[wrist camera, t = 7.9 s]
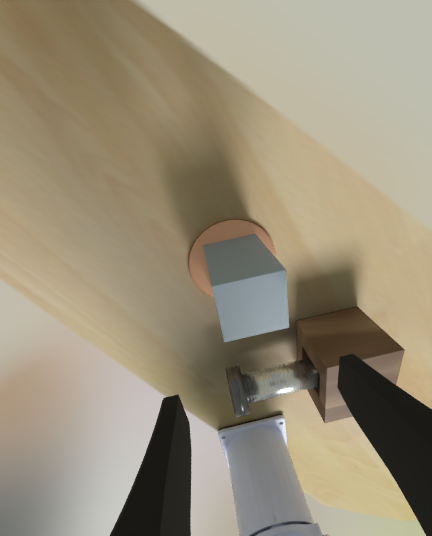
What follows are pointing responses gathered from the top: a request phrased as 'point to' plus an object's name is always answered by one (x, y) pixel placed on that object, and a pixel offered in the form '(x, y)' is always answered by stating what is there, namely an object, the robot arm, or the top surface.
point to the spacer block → (247, 287)
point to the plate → (217, 234)
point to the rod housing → (340, 344)
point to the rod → (269, 383)
